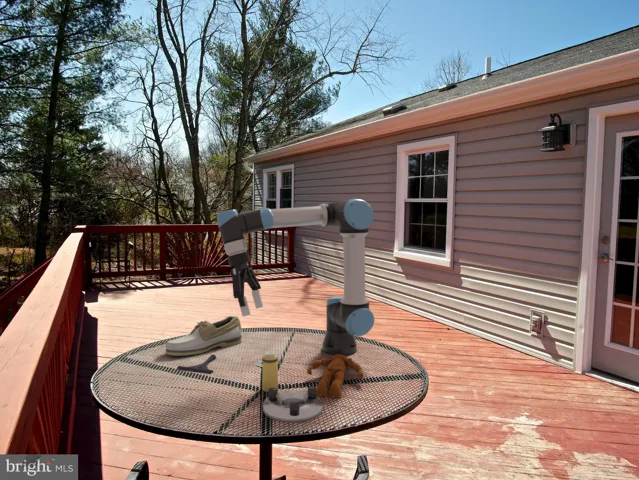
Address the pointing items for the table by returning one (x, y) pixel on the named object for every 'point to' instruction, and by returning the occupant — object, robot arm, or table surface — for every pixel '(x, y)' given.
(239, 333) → the boat shoe
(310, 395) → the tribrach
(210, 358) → the bracket
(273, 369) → the travel mug
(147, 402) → the table surface
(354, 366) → the toy
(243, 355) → the table surface
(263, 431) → the table surface
